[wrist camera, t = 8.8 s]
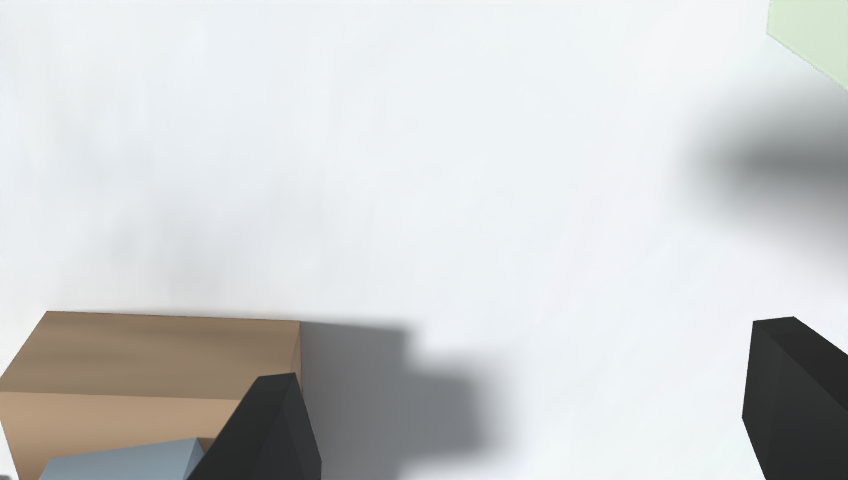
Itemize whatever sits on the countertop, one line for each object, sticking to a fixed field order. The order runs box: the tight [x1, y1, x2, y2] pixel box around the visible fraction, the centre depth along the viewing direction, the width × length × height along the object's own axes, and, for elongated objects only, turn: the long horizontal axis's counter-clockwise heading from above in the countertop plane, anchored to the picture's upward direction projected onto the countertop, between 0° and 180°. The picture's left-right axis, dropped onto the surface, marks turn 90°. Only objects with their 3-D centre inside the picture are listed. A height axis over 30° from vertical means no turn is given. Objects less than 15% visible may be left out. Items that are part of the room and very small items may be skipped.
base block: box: [0, 311, 302, 480], centre depth 25 cm, size 8×8×4 cm
